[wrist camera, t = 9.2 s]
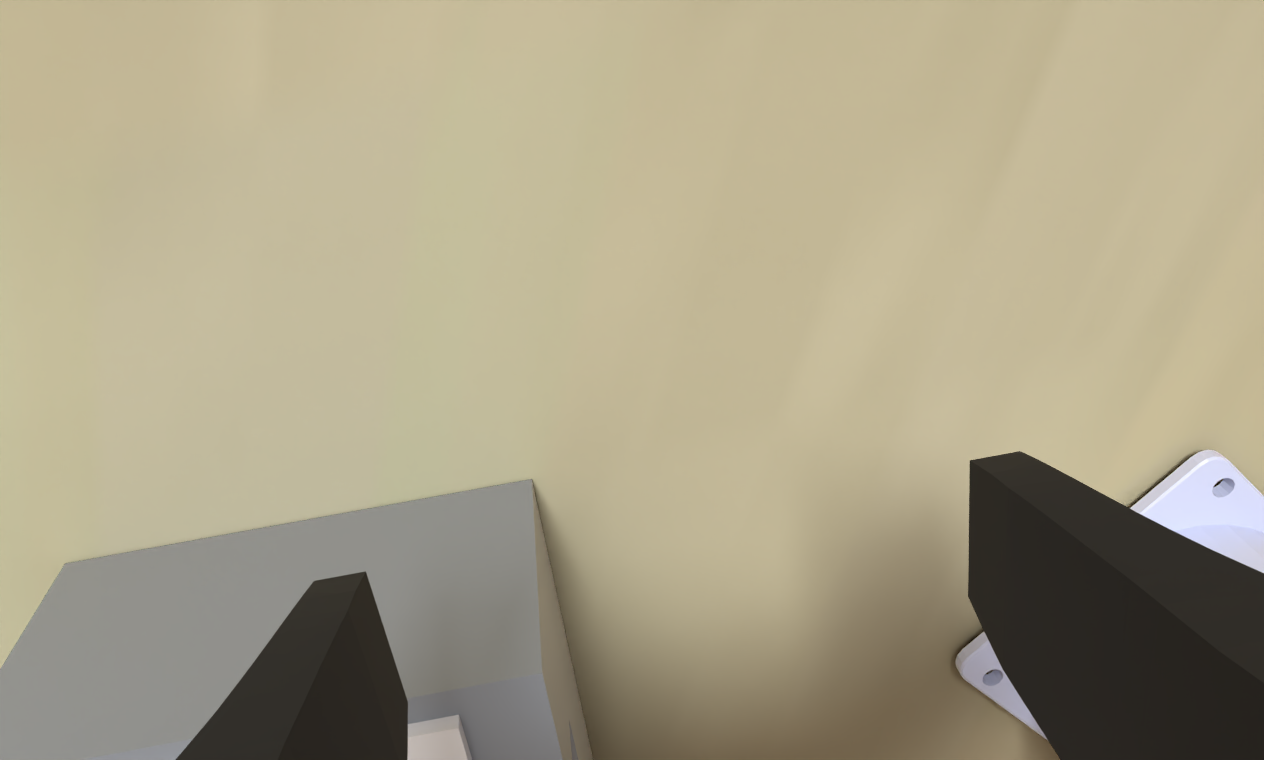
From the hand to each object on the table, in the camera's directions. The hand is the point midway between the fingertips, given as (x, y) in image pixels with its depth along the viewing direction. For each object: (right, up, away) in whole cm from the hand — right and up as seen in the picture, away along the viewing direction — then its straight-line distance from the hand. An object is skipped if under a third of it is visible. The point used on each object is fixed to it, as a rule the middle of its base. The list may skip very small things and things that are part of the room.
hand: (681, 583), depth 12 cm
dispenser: (-7, -6, +13) cm, 16 cm away
